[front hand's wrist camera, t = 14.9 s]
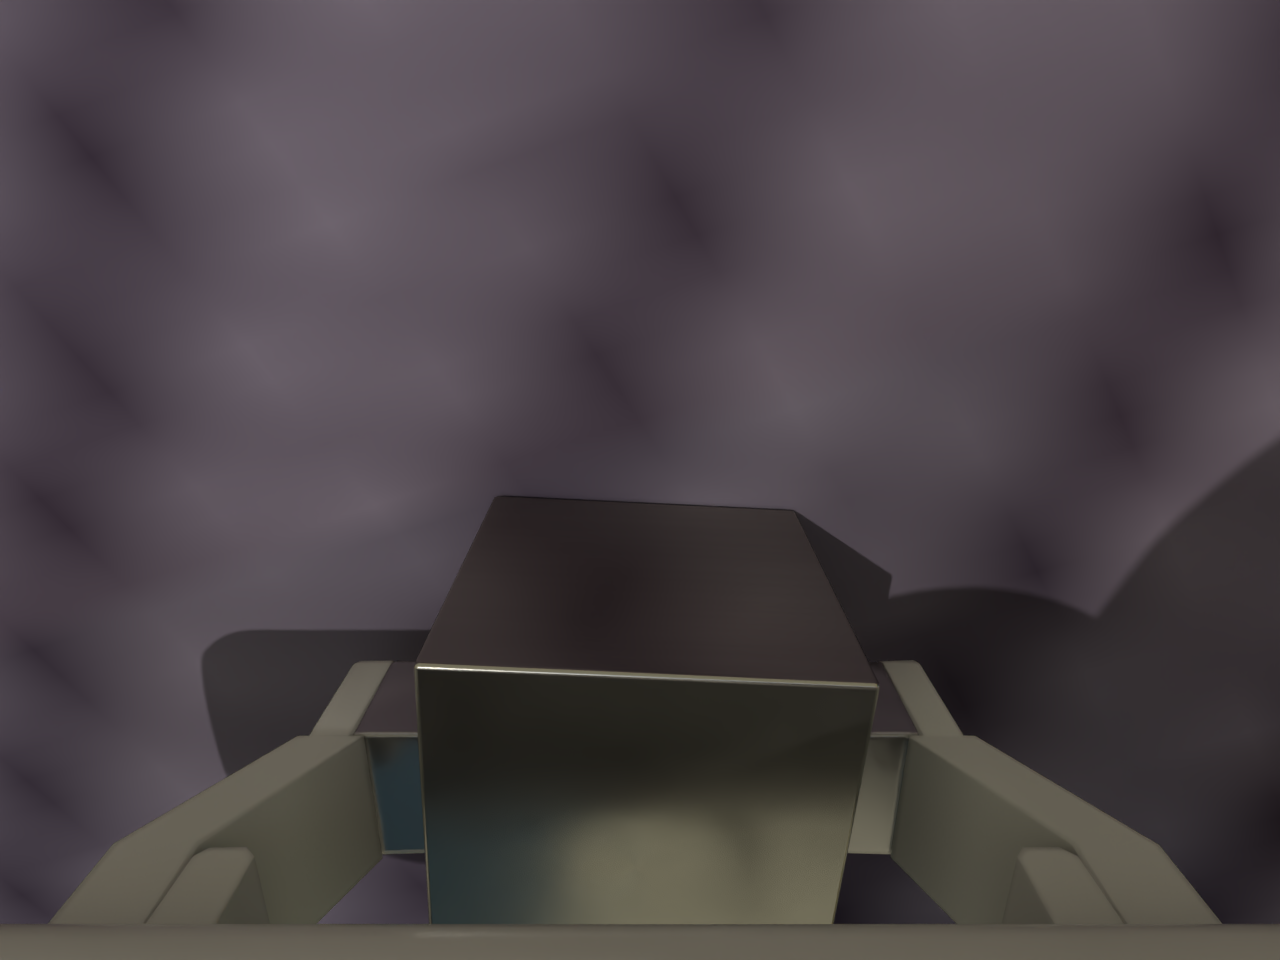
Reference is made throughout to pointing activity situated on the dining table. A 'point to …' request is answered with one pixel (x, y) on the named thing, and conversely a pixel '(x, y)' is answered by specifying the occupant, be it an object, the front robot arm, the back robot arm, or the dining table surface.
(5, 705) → the dining table surface
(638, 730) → the block
